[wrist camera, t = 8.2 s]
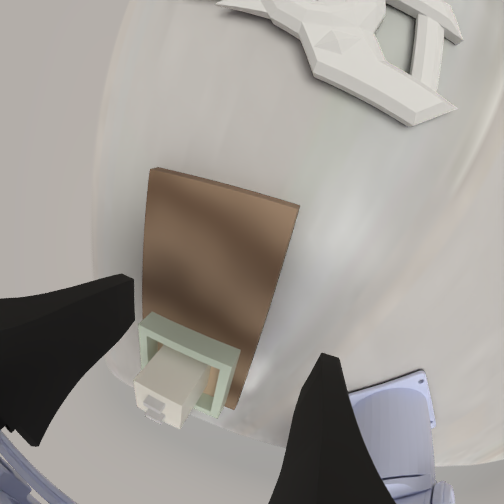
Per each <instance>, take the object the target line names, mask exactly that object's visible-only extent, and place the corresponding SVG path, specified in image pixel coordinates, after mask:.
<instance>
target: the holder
mask: <svg viewBox="0 0 504 504" xmlns="http://www.w3.org/2000/svg"><path fill="white" fill-rule="evenodd" d="M138 328H139V345H140V359H141V370H142V369H143V368H144V367H145V366H146V365H147V364H148V362H149V361H150V360H151V359H152V358H153V357H154V355H155V354H156V353H157V352H158V351H159V350H160V349H161V347H162V346H163V345H166V346H168V347H170V348H172V349H174V350H176V351H179V352H181V353H183V354H185V355H187V356H189V357H192V358H194V359H196V360H198V361H201V362H203V363H205V364H208V365H210V366H211V369H210V374H209V379H208V384H207V386H206V388H205V390H204V391H203V393H202V395H201V396H200V398H199V400H198V401H197V403H196V405H195V406H194V409H196V410H198V411H200V412H202V413H205V414H207V415H209V416H212V417H214V418H217V419H218V417H219V415H220V413H221V411H222V409H223V407H224V406H225V403H226V400H227V397H228V393H229V390H230V386H231V383H232V379H233V376H234V372H235V369H236V365H237V362H238V358H239V355H240V351H241V350H240V349H237V348H235V347H232V346H230V345H227V344H225V343H222V342H220V341H217V340H215V339H212V338H210V337H207V336H205V335H203V334H200V333H198V332H196V331H193V330H191V329H189V328H187V327H184V326H182V325H180V324H178V323H175V322H173V321H171V320H169V319H167V318H165V317H163V316H160V315H158V314H156V313H154V312H151V313H150V314H149V315H148V316H147V317H146V318H144V319H143V320H142V321H141V322H140V323H139V324H138Z"/></svg>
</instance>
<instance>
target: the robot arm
mask: <svg viewBox="0 0 504 504" xmlns="http://www.w3.org/2000/svg"><path fill="white" fill-rule="evenodd" d="M134 321H135V310H134V279H132V278H130V277H128V276H126V275H124V274H118V275H113V276H109V277H106V278H102V279H98V280H95V281H91V282H88V283H84V284H81V285H77V286H73V287H70V288H66V289H61V290H57V291H53V292H49V293H45V294H39V295H34V296H27V297H20V298H4V299H0V453H1V454H2V456H3V457H4V458H5V459H6V460H7V461H8V463H9V464H10V465H11V466H12V467H13V468H14V469H15V470H16V471H17V472H16V471H15V470H14V469H13V468H12V467H11V466H10V465H9V464H8V463H6V462H5V461H4V460H3V459H2V458H1V457H0V504H41V503H40V502H38V501H37V500H36V499H35V498H34V497H33V496H32V495H30V494H29V493H30V492H31V488H30V486H31V487H32V488H33V489H34V490H35V491H36V492H38V493H39V494H40V495H41V496H42V497H43V498H44V499H45V500H46V501H47V502H48V503H50V504H77V503H76V502H74V501H73V500H72V499H70V498H69V497H68V496H66V495H65V494H64V493H63V492H62V491H61V490H59V489H58V488H57V487H56V486H55V485H53V484H52V483H51V482H50V481H49V480H48V479H47V478H46V477H44V476H43V475H42V474H41V473H40V472H39V471H38V470H37V469H36V468H35V467H34V466H33V465H32V464H31V463H30V462H29V461H28V460H27V459H26V458H25V457H24V456H23V455H22V454H21V453H20V452H19V451H18V450H17V448H16V447H15V446H14V445H13V444H12V443H11V442H10V440H9V439H8V438H7V437H6V436H5V435H4V433H3V432H2V431H1V429H2V428H3V427H4V426H5V427H6V428H7V429H8V430H9V432H11V433H12V432H13V431H14V430H15V429H16V431H17V432H18V433H19V434H20V435H21V436H22V437H23V438H24V439H25V440H26V441H27V442H28V443H29V444H30V445H31V446H35V447H36V446H39V444H40V442H41V440H42V438H43V436H44V434H45V432H46V430H47V428H48V426H49V424H50V422H51V420H52V419H53V417H54V415H55V414H56V412H57V411H58V409H59V407H60V406H61V404H62V403H63V402H64V400H65V399H66V397H67V396H68V394H69V393H70V392H71V390H72V389H73V388H74V386H75V385H76V384H77V382H78V381H79V380H80V379H81V378H82V377H83V375H84V374H85V373H86V372H87V371H88V370H89V369H90V368H91V367H92V366H93V365H94V364H95V363H96V362H97V361H98V360H99V359H100V358H101V357H102V356H104V355H105V354H106V353H107V352H108V351H109V350H110V349H111V348H112V347H113V346H114V345H115V344H116V343H117V342H118V341H119V340H120V339H121V338H122V336H123V335H124V334H125V333H126V331H127V330H128V329H129V327H130V326H131V325H132V323H133V322H134ZM421 379H422V380H421ZM435 426H436V421H435V416H434V410H433V405H432V400H431V396H430V391H429V387H428V382H427V378H426V374H425V372H424V371H417V372H415V373H412V374H409V375H407V376H404V377H401V378H398V379H395V380H392V381H389V382H386V383H383V384H380V385H377V386H374V387H370V388H367V389H363V390H360V391H356V392H353V393H349V394H348V391H347V387H346V384H345V380H344V376H343V372H342V367H341V363H340V360H339V358H338V357H334V356H331V355H328V354H324V353H321V355H320V357H319V358H318V360H317V362H316V364H315V366H314V368H313V369H312V371H311V373H310V375H309V377H308V378H307V380H306V382H305V384H304V385H303V387H302V389H301V392H300V395H299V398H298V401H297V404H296V408H295V411H294V414H293V419H292V424H291V429H290V433H289V438H288V443H287V447H286V452H285V456H284V461H283V465H282V469H281V472H280V475H279V478H278V481H277V483H276V486H275V489H274V491H273V494H272V496H271V499H270V501H269V503H268V504H455V497H454V490H453V487H452V485H451V484H449V483H446V481H440V482H438V483H437V482H436V480H435V462H434V450H433V440H432V431H431V429H432V428H434V427H435ZM27 483H28V484H29V485H30V486H29V485H28V484H27Z"/></svg>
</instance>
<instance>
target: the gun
mask: <svg viewBox="0 0 504 504" xmlns="http://www.w3.org/2000/svg"><path fill="white" fill-rule="evenodd" d="M386 3H387V4H389V5H391V6H393V7H395V8H397V9H399V10H401V11H403V12H405V13H407V14H408V15H410V16H412V17H414V18H415V19H416V26H415V36H414V45H413V54H412V61H411V68H410V75H409V74H408V73H406V72H404V71H403V70H401V69H399V68H398V67H396V66H394V65H392V64H391V63H389V62H387V61H386V59H385V57H384V54H383V52H382V50H381V47H380V45H379V43H378V41H377V38H376V36H375V32H376V31H377V29H378V27H379V26H380V24H381V23H382V21H383V19H384V17H385V15H386ZM215 5H216V6H220V7H225V8H230V9H234V10H238V11H242V12H246V13H250V14H254V15H257V16H261V17H264V18H268V19H271V20H272V22H273V24H274V25H276V26H278V27H279V28H281V29H283V30H285V31H286V32H288V33H290V34H291V35H293V36H294V37H296V38H298V39H299V40H300V41H301V43H302V46H303V48H304V51H305V54H306V56H307V59H308V62H309V64H310V67H311V70H312V73H313V76H314V77H315V78H317V79H319V80H322V81H324V82H326V83H328V84H331V85H333V86H335V87H337V88H339V89H341V90H343V91H345V92H347V93H349V94H351V95H353V96H355V97H357V98H359V99H361V100H363V101H365V102H367V103H368V104H370V105H372V106H374V107H376V108H377V109H379V110H381V111H383V112H384V113H386V114H388V115H390V116H391V117H393V118H394V119H396V120H398V121H399V122H401V123H403V124H404V125H406V126H407V127H410V126H415V125H417V124H420V123H422V122H425V121H427V120H430V119H432V118H435V117H438V116H440V115H443V114H445V113H448V112H451V111H453V110H456V109H458V108H457V107H455V106H454V105H453V104H452V103H450V102H449V101H448V100H446V99H445V98H444V97H442V96H441V95H439V94H438V93H437V88H438V82H439V75H440V68H441V60H442V52H443V41H444V37H446V38H447V39H448V40H450V41H451V42H453V43H454V44H455V45H457V44H459V43H460V42H462V41H463V38H462V35H461V32H460V29H459V26H458V23H457V20H456V18H455V15H454V12H453V10H452V7H451V5H449V4H448V3H446V2H444V1H443V0H222V1H220V2H217V3H215Z"/></svg>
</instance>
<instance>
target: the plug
mask: <svg viewBox="0 0 504 504" xmlns="http://www.w3.org/2000/svg"><path fill="white" fill-rule="evenodd" d="M210 369H211V366H210V365H208V364H205V363H203V362H201V361H198V360H196V359H194V358H192V357H189V356H187V355H185V354H183V353H181V352H179V351H176V350H174V349H172V348H170V347H168V346H166V345H163V346H162V347H161V349H160V350H159V351H158V352H157V353H156V354H155V355H154V357H153V358H152V359H151V360H150V361H149V362H148V364H147V365H146V366H145V367H144V368H143V369H142V370H141V372H140V373H139V374H138V375H137V376H136V377H135V379H134V380H133V382H134V389H135V395H136V402H137V406H138V407H139V408H140V409H142V410H144V411H146V412H145V417H147V418H149V419H151V420H153V421H154V422H156V423H158V424H160V425H161V424H162V422H163V421H164V422H166V423H168V424H170V425H172V426H174V427H176V428H178V429H181V427H182V426H183V424H184V422H185V421H186V419H187V418H188V416H189V414H190V413H191V411H192V409H193V408H194V406H195V405H196V403H197V401H198V400H199V398H200V396H201V395H202V393H203V391H204V390H205V388H206V386H207V384H208V379H209V374H210Z"/></svg>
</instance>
